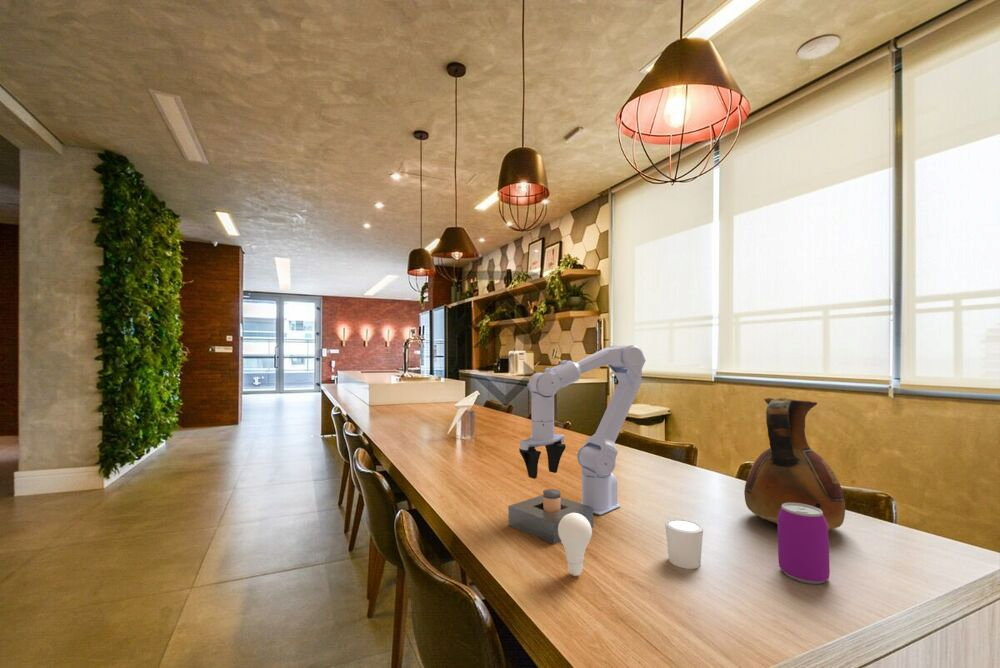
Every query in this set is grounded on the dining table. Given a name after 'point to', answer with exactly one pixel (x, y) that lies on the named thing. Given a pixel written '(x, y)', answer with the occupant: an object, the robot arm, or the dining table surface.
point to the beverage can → (803, 543)
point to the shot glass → (684, 543)
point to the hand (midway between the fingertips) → (543, 474)
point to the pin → (551, 500)
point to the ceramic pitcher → (792, 468)
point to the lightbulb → (574, 540)
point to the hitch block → (544, 517)
